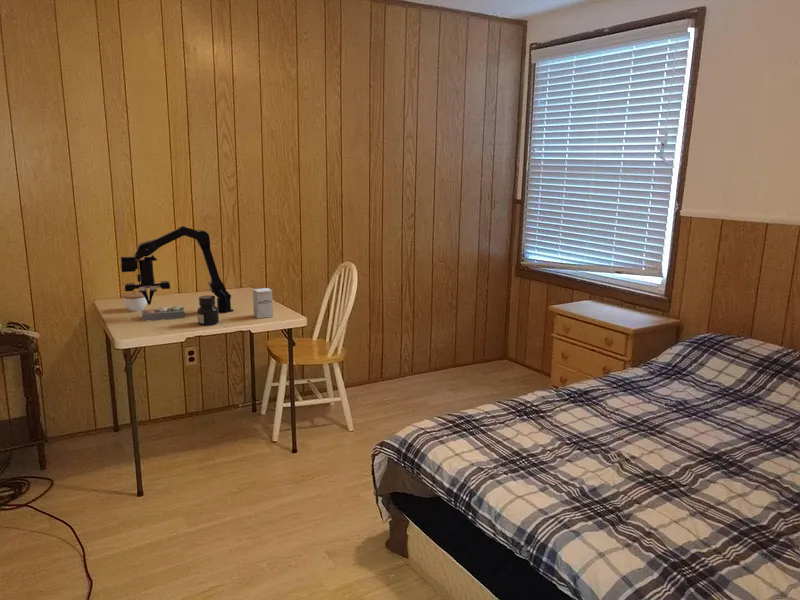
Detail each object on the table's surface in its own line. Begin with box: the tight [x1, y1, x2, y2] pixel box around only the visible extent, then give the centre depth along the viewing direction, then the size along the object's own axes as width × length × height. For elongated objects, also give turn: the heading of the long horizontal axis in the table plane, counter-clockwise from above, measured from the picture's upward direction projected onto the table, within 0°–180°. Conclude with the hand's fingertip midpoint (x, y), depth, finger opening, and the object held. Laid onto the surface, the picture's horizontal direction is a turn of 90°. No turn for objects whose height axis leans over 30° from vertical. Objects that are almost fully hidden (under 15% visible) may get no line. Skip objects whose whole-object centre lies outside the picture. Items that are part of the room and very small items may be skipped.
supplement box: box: [252, 287, 274, 319], centre depth 283 cm, size 7×7×13 cm
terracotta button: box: [146, 309, 155, 313], centre depth 279 cm, size 4×4×2 cm
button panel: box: [141, 306, 186, 322], centre depth 281 cm, size 18×9×3 cm, turn 111°
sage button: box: [171, 305, 181, 311], centre depth 282 cm, size 4×4×2 cm
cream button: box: [158, 306, 168, 312], centre depth 280 cm, size 4×4×2 cm
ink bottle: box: [196, 294, 220, 326], centre depth 270 cm, size 10×9×12 cm
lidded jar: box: [122, 290, 148, 312], centre depth 293 cm, size 11×11×9 cm
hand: (149, 304), depth 278 cm, fingers closed
